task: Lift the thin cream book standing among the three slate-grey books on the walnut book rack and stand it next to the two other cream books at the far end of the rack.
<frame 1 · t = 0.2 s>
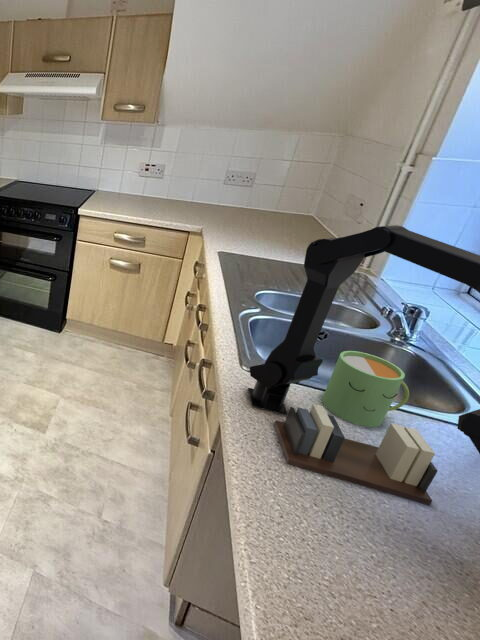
mug: (358, 413, 90), on the counter
cream book 2: (402, 471, 74), point 1 cm above the counter, touching book rack
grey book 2: (323, 449, 79), point 1 cm above the counter, touching book rack
book rack: (343, 460, 78), on the counter
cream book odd: (310, 446, 79), point 1 cm above the counter, touching book rack
cream book 1: (388, 467, 75), point 1 cm above the counter, touching book rack
grey book 1: (297, 442, 80), point 1 cm above the counter, touching book rack
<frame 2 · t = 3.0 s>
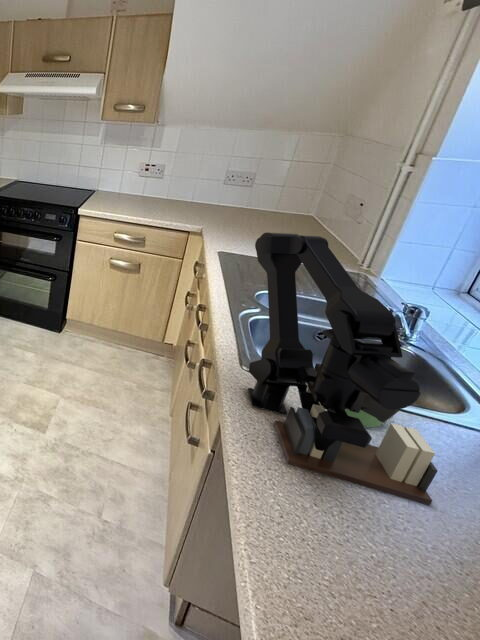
hand: (313, 438, 79), 3 cm above the counter, tool pointing down, fingers closed on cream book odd, 6 cm apart
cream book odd: (310, 446, 79), point 1 cm above the counter, touching book rack, gripper
grey book 1: (297, 442, 80), point 1 cm above the counter, touching book rack, gripper
everything else where it was.
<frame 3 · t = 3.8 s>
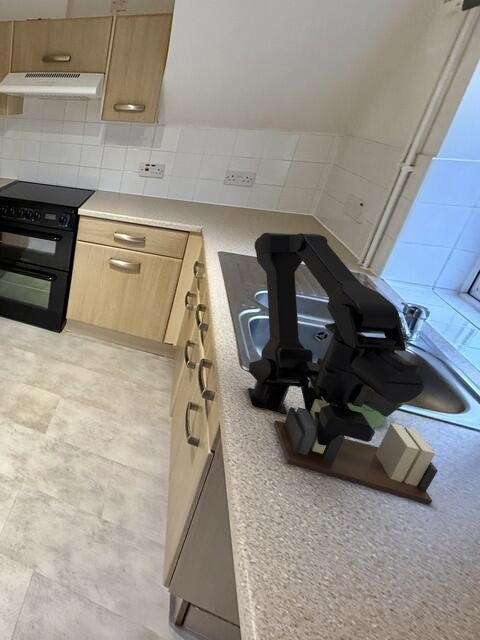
hand: (316, 433, 78), 4 cm above the counter, tool pointing down, fingers closed on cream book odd, 6 cm apart
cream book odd: (312, 441, 79), point 2 cm above the counter, touching gripper
everything else where it was.
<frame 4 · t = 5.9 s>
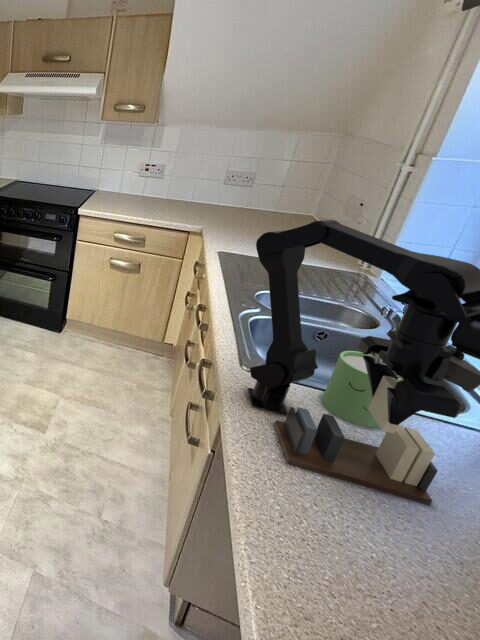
hand: (384, 412, 72), 12 cm above the counter, tool pointing down, fingers closed on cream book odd, 6 cm apart
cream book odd: (380, 420, 73), point 10 cm above the counter, touching gripper
grey book 1: (297, 442, 80), point 1 cm above the counter, touching book rack
everything else where it was.
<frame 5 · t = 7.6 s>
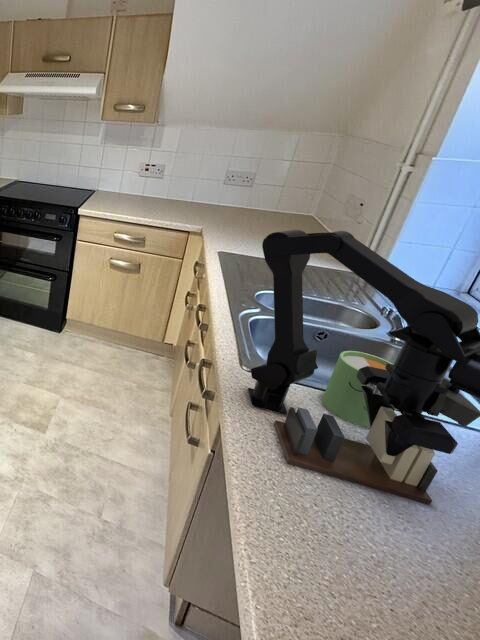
hand: (382, 442, 74), 6 cm above the counter, tool pointing down, fingers closed on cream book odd, 6 cm apart
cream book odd: (378, 450, 75), point 4 cm above the counter, touching gripper
everything else where it was.
when the fingers open (3 cm above the counter, at t = 8.9 s): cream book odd stays where it is, resting on book rack.
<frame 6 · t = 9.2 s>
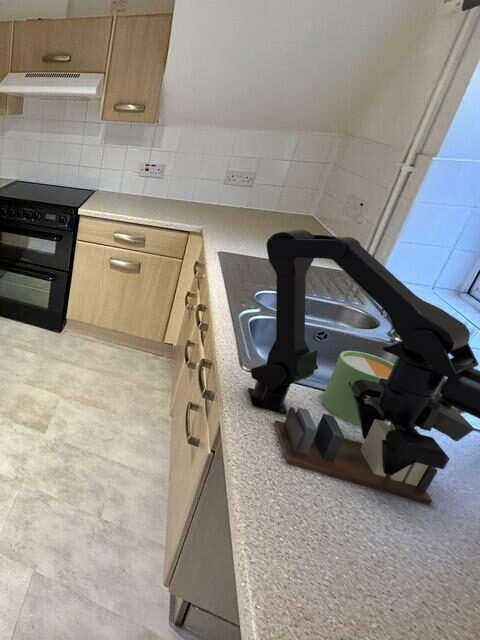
hand: (376, 455, 75), 3 cm above the counter, tool pointing down, fingers open, 8 cm apart
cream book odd: (372, 463, 76), point 1 cm above the counter, touching book rack
everything else where it was.
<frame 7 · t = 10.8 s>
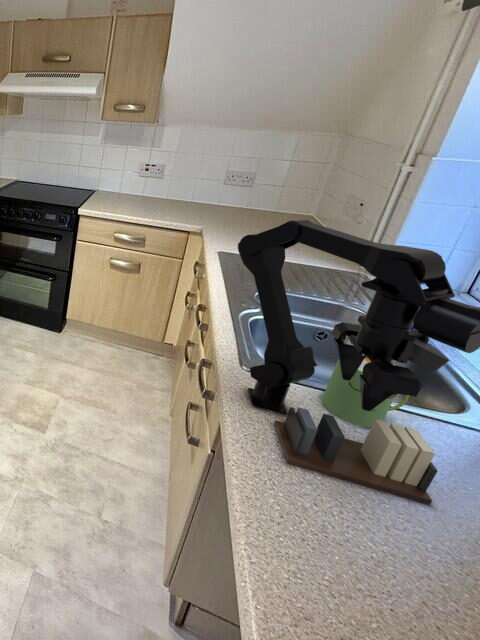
hand: (355, 393, 76), 13 cm above the counter, tool pointing down, fingers open, 9 cm apart
nothing on the counter moved.
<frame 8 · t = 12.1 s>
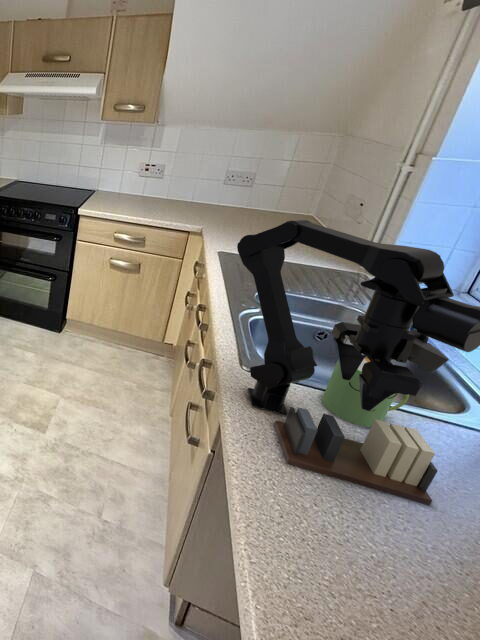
hand: (355, 393, 76), 13 cm above the counter, tool pointing down, fingers open, 9 cm apart
nothing on the counter moved.
at the end: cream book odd 0.2 cm from the target spot, point 1.2 cm above the counter; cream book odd tilted 0°; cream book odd 2.3 cm from the cream book 1 (horizontally) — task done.
